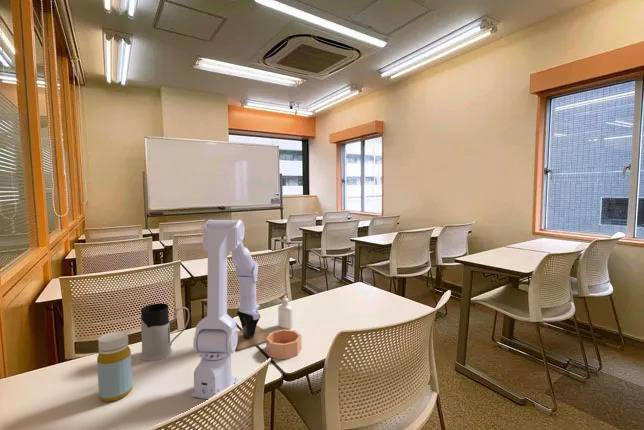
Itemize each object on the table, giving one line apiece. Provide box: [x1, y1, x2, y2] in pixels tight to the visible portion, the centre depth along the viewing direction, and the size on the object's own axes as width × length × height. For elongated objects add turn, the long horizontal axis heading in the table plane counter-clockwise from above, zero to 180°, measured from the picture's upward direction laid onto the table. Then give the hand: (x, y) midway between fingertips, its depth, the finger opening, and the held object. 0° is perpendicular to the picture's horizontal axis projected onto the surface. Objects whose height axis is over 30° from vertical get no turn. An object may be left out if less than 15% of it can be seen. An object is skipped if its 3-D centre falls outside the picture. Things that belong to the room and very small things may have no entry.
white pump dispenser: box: [277, 295, 294, 330], centre depth 119 cm, size 4×6×12 cm
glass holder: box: [140, 302, 190, 362], centre depth 100 cm, size 9×14×15 cm, turn 118°
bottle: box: [96, 330, 133, 403], centre depth 79 cm, size 7×7×15 cm
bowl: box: [265, 328, 302, 360], centre depth 101 cm, size 10×10×4 cm
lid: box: [235, 325, 270, 352], centre depth 110 cm, size 13×13×5 cm
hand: (248, 333), depth 110 cm, fingers closed on lid, 4 cm apart
